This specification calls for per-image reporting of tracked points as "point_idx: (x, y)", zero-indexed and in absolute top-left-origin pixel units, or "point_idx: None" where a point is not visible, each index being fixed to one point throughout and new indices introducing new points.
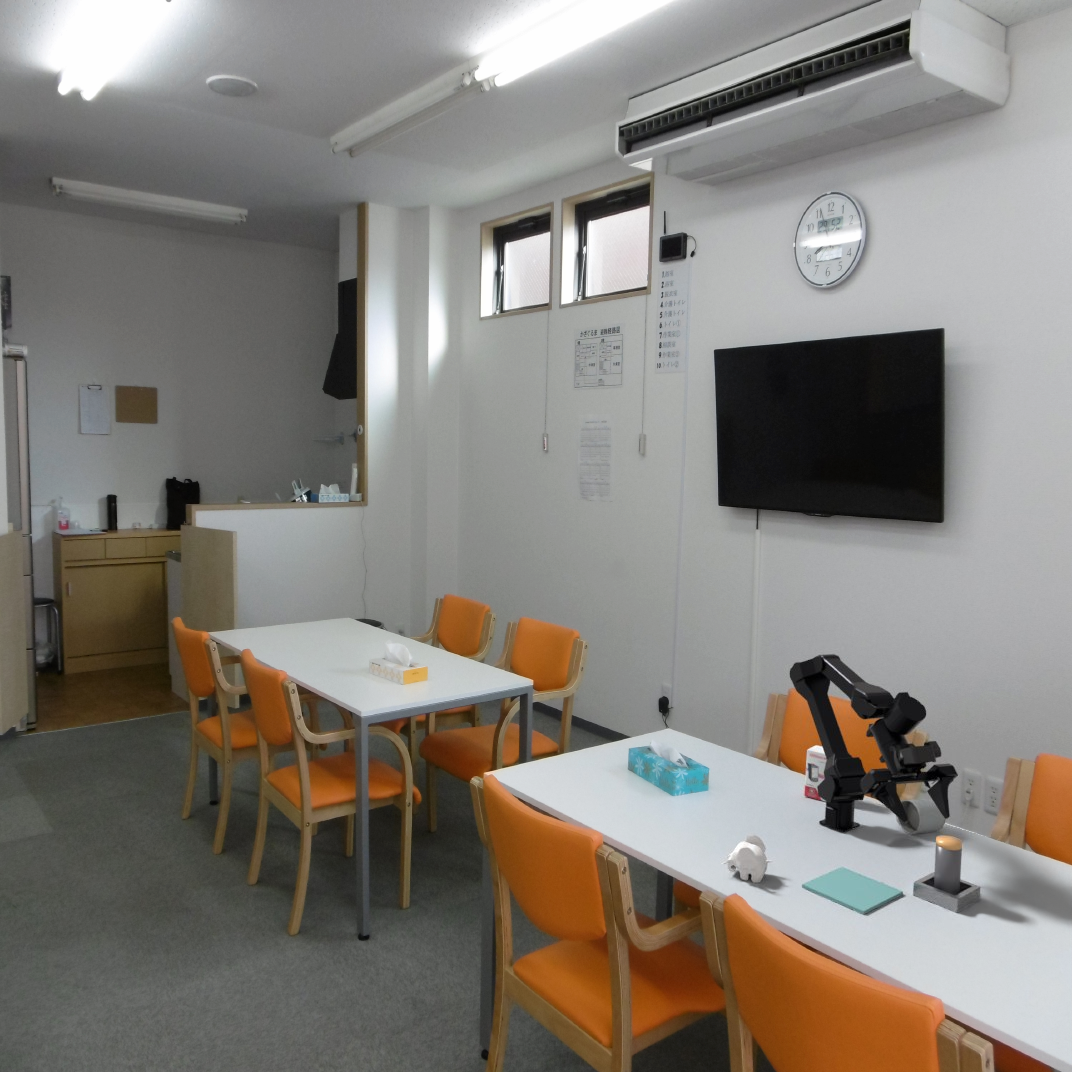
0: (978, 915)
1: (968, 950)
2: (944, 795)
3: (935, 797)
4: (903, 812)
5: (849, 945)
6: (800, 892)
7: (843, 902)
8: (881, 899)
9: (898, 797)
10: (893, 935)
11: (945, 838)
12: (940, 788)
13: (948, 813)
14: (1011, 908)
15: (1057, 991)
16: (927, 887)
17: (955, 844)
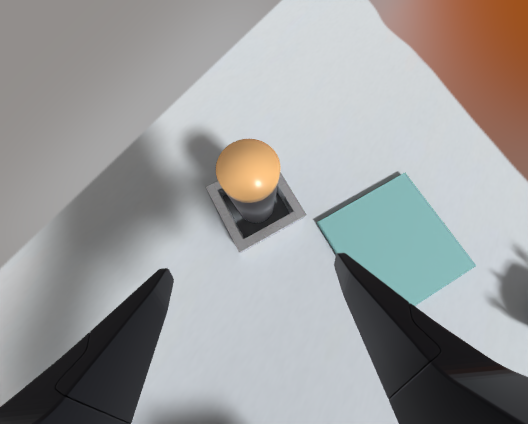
0: None
1: (309, 87)
2: (87, 353)
3: (121, 401)
4: (361, 270)
5: (446, 110)
6: (476, 249)
7: (425, 199)
8: (363, 201)
9: (412, 334)
10: (382, 124)
11: (251, 178)
12: (52, 417)
13: (156, 274)
14: (185, 166)
15: (266, 20)
16: (293, 194)
17: (249, 141)
